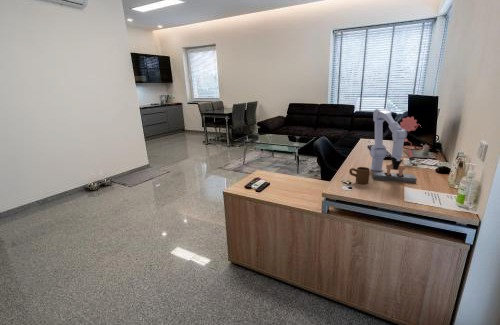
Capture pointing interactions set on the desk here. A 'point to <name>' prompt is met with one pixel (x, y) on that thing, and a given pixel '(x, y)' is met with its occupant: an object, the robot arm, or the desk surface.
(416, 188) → the desk surface
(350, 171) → the mug
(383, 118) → the robot arm
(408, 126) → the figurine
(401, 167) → the tan tabbed block
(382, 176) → the grey slotted tapered plate
